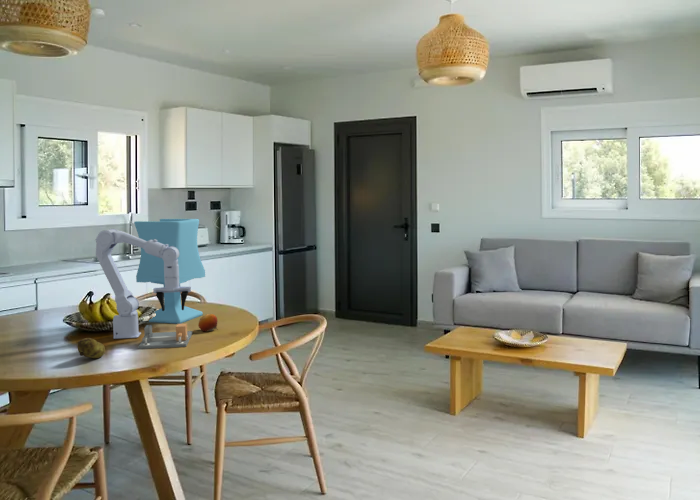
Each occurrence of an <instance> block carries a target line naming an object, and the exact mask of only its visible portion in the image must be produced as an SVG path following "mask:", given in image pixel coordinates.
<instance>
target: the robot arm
mask: <svg viewBox="0 0 700 500" xmlns="http://www.w3.org/2000/svg"><path fill="white" fill-rule="evenodd" d="M95 243H96V246H95V256H96V258H97V261H98V262H99V265H100V267H101V268H102V271H103V273H104V275H105V277H106V279H107V282H109V285H110V287H111V289H112V291H113V294H114V302H115V305H116V311H117V313H118V314H117V315H116V314H115V315H113V319H112V327H113V328H112V329H113V340H114V339H115V340H117V339H135V338H139V337H140V336H141V335H142V332H141V331H139V314H138V311H137V310H138V308H139V307H140V301H139V299H138V298H136V297H135V296H134V295H133V293H132V292H131V290H129V289H128V287H127V286H126V285H127V284H126V283H125V281H124V279H123V276H122V275H121V273H120V271H119V269H118V267H117V264H116V263H115V260H114V258H113V256H112V252H113V251H114V248H115V246H116V245H117V244H122V243H123V244H124V243H126V244H129V245H131V246H134V247H138V248H140V249H141V248H143V249H144V250H145V252H146V253H148V254H151V255H153V256H156V257H159V258H162V259H163V260H164V280H165V287H164V286H161V287H154V288H153V294H155V296H156V298H157V300H158V302H159V304H160V306H161V308H162V311H164V310H165V306H164V293H170V292H181V305H182V310H184V306H186V305H185V303H186V301H187V299H188V298H187V297H188V295H189V293H191V292H192V286H180V287H179V265H178V259H177V258H178V257H179V250H178V249H177V248H176V247H174V246H170V247H169V245H168V244H166V245H165V244H162V243H159V242H157V240H156V239H154V240H149V241H145V240H143V239H140V238H139V236H135V235H133V234H131V233H128V232H126V231H124V230H120V229H119V230H118V229H116V228H109V229H105V230H101V231H100V232H98V235H97V236H96V238H95ZM176 259H177V260H176ZM175 290H177V291H175Z"/></svg>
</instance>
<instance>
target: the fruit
mask: <svg viewBox="0 0 700 500" xmlns="http://www.w3.org/2000/svg"><path fill="white" fill-rule="evenodd" d="M218 323H219V322H218V317H217V316H216V315H215V314H213V313H207V314H205V315H202V316H200V318H199V321H198V328H199V329H200V330H201V331H202V332H211V331H214V330H218V328H217V327H218Z"/></svg>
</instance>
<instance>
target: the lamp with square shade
mask: <svg viewBox="0 0 700 500" xmlns="http://www.w3.org/2000/svg"><path fill="white" fill-rule="evenodd" d="M133 223H134V226H135V229H136V233H137V235H138V236H137V237H138V238H140V239H143V240H145V241H149V240H154V239H156V240H157V242H159V243H162V244H165V245H166V244H168V245H169V247H170V246H174V247H176V248H177V249H178V250H179V257H178V258H177V259H178V265H179V287H181V284H183V283H186V282H189V281H190V280H194V279H203V278H205V277H206V269H205V267H204V264H203V262H202V260H201V257H200V253H199V245H198V232H199V225H200V219H198V218H160V219H159V220H158V221H157V220H156V221H154V220H153V221H152V220H151V221H150V220H149V221H146V220H145V221H143V220H142V221H141V220H140V221H139V220H138V221H137V220H136V221H134V222H133ZM177 259H176V260H177ZM135 277H136V278H135V279H136V283H151V284H157V285H158V284H159V285H163V287H165V280H164V260H163V259H162V258H159V257H156V256H153V255H151V254H148V253H146V252H145V250H144V249H143V248H140V259H139V265H138V269H137V272H136V276H135ZM175 291H177V290H175ZM181 293H182V292H170V293H164V306H165V310H164V311H162V307H161V308H159V309H157V310H155V311H154V312H155V313H156V316H155V317H153V318H152V319H150V320H149V322H148V323H156V324H157V323H158V324H159V323H160V324H175V325H177V324H185V323H187V322H189V321H191V320H194V319H197V318H199V317H203V316H204V315H203V314H204V313H203V311H201V310H198V309H195V308H192V307H188V306H186V305H184V310H182V299H181Z"/></svg>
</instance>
